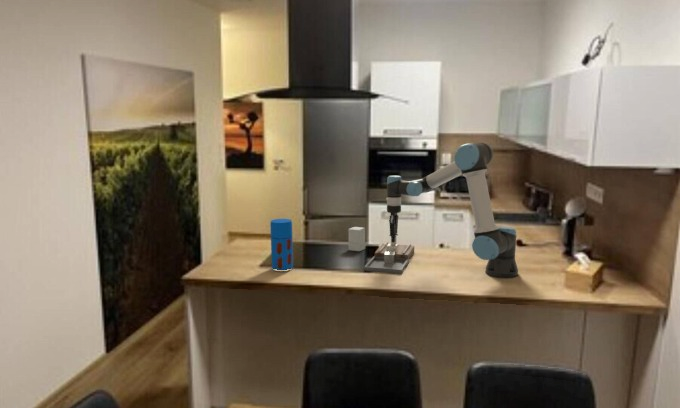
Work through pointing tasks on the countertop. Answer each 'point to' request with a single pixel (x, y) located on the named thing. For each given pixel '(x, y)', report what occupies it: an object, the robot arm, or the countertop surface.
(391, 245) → the white squarish block
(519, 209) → the countertop surface
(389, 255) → the beige block
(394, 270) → the tray
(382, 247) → the slot board
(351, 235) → the supplement box
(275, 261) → the thermos
